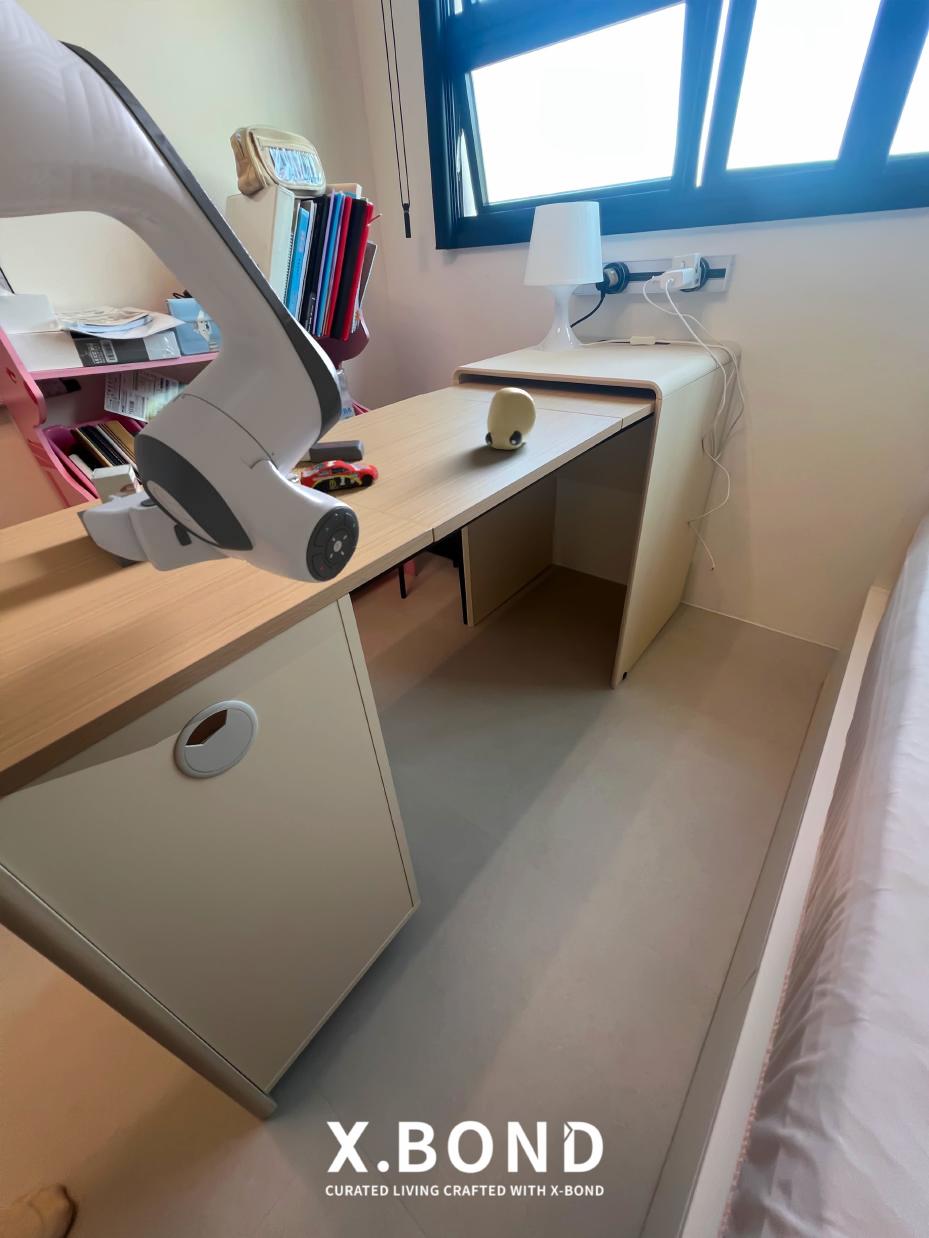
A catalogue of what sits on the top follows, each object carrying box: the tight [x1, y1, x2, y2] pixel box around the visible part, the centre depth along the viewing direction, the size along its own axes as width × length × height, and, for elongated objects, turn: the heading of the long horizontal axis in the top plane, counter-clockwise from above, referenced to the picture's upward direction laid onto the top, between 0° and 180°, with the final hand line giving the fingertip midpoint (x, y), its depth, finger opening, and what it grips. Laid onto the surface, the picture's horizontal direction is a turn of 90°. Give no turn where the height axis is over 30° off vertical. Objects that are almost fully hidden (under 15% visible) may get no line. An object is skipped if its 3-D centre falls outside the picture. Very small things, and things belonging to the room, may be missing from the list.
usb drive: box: [300, 439, 365, 464], centre depth 99 cm, size 5×12×3 cm, turn 95°
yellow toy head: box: [484, 387, 537, 451], centre depth 99 cm, size 10×12×11 cm
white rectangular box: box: [90, 463, 143, 505], centre depth 67 cm, size 5×4×10 cm
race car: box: [299, 460, 379, 494], centre depth 86 cm, size 13×5×4 cm, turn 110°
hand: (157, 487), depth 58 cm, fingers open, 8 cm apart
